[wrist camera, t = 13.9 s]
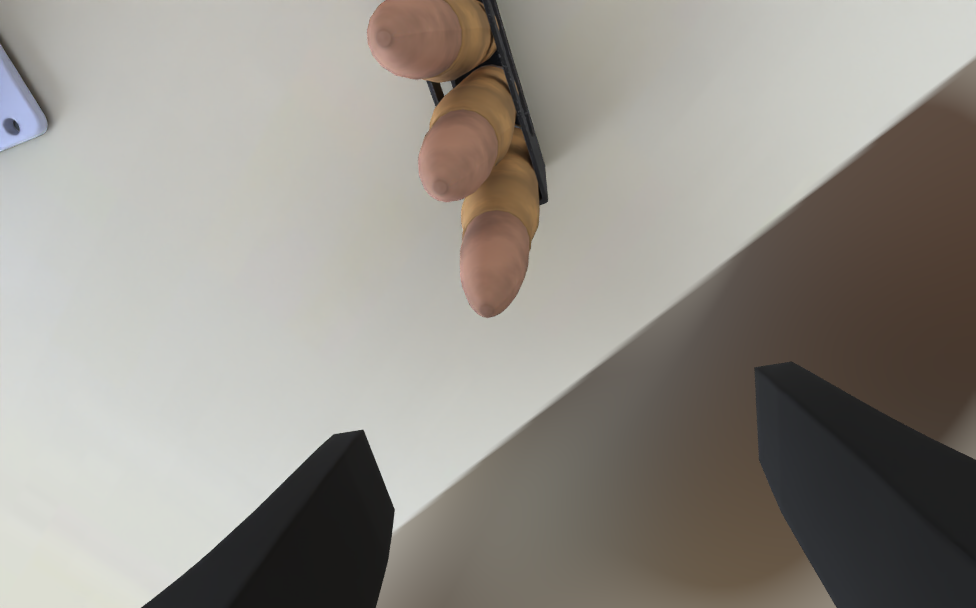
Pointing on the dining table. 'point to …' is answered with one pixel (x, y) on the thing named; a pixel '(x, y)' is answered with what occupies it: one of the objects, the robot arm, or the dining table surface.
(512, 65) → the ammunition clip
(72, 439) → the dining table surface
